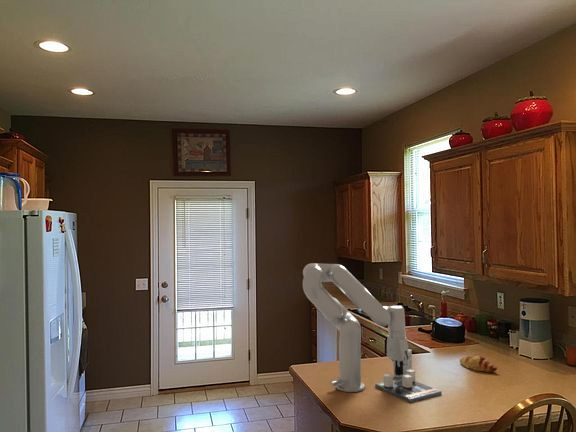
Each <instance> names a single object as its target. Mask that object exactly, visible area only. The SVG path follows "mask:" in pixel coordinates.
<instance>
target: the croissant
mask: <svg viewBox="0 0 576 432" xmlns="http://www.w3.org/2000/svg"><path fill="white" fill-rule="evenodd" d="M459 363H460V364H461V365H462V366H464V367H465V368H467V369H468V370H472V369H473V370H472V371H476V370H477V371H476V372H478V371H479V372H484V371H485V372H484V373H493V372H496V371H497V369H498V367H497V366H495V365H494V364H493V363H490V362H489V360H487V359H486V358H485V357H484V356H482V355H476V356H466V357H462V358H460V359H459Z"/></svg>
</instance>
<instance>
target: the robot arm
mask: <svg viewBox="0 0 576 432" xmlns="http://www.w3.org/2000/svg"><path fill="white" fill-rule="evenodd" d="M302 275H303V279H302V289H303V293H304V294H305V296H306V298H307V299H308V300H309V302H311V303H312V304H313V305H314V307H315V308H316V309H317V310H318V311H319V312H320V313H321V314H322V316H323V317H324V318H325V319H326V320H328V322H330V323H331V324H332V325H333V326H334V327H335V328H336V329H337V330H338V332H339V338H338V339H339V340H338V345H339V346H338V348H339V349H338V359H339V377H337V379H336V380H333V381H331V382H330V386H331V387H334V386H336V387H335V388H336V389H337V390H339V391H342V392H346V393H359V392H362V391H364V390H365V386H366V385H365V384H364V383H363V382H362V362H361V361H362V357H361V355H362V354H361V343H362V342H361V340H362V326H361V324H360V322H359V320H358V319H357V318H356V317H355V316H354V315H353V314H352V313H351V312H350V311H349V310H348V309H347V308H346V307H345V306H344V305H343V304H342V303H341V302H340V301H339V300H338V299H337V298H336V297H333V295H331V293H329V292H328V291H327V289H326V288H325V287H324V286H323V283H322V282H324V283H325V282H326V283H329V282H332V283H333V284H334V285H335V286H336V287H337V288H338V289H339V290H340V291H341V292H342V293H343V294H344V295H345V296H346V297H347V298H348V299H349V300H350V301H351V302H352V303H353V304H354V305H356V306H357V307H359V308H360V309H361V310H362V311H363V312H364V313H365V314H366V315H367V316H368V317H369V318H370V319H371V320H372V321H373V322H374V323H375V324H376V325H377V326H378V327H386V326H387V329H388V330H387V331H388V335H387V339H386V356H387V357H388V359H389V360H391V361H392V362H393V367H394V366H395V374H396V375H398V376H399V375H403V366H404V364H408V361H407V360H408V359H409V350H408V349H409V345H408V344H409V343H408V340H407V335H406V319H405V317H406V316H405V308H404V306H402V305H390V306H386V305H384V306H383V305H382V303H381V302H379V301H378V300H377V298H375V297H374V296H373V295H372V294H371V293H370V291H369V290H368V289H367V288H366V287H365V286H364V285H363V284H362V283H361V282H360V281H359V280H358V279H357V278H356V277H355V276H354V275H353V274H352V273H351V272H350V271H349V270H348V269H347V268H346V267H345V266H343V265H342V264H339V263H318V262H317V263H316V262H315V263H314V262H312V263H308V264H306V265H305V266H304V268H303V270H302Z"/></svg>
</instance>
